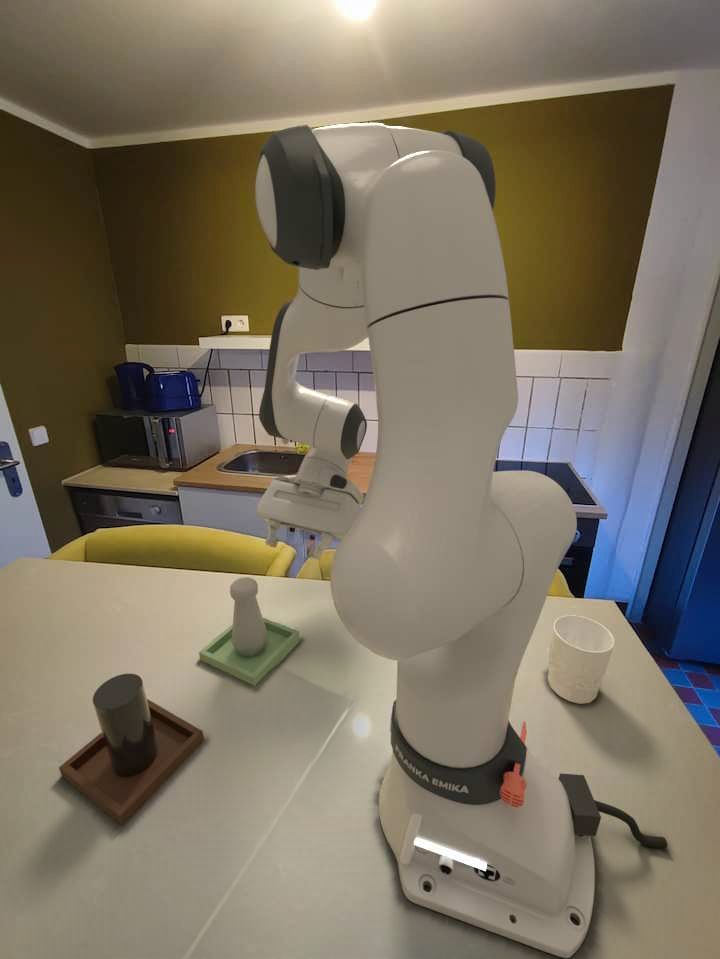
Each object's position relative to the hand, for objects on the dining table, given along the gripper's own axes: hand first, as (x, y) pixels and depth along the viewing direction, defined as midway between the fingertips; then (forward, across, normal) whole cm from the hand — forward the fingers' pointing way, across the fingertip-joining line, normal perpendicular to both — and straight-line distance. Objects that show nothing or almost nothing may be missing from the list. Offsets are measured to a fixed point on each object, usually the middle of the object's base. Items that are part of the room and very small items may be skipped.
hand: (291, 551), depth 75 cm
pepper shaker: (+32, -1, -13) cm, 35 cm away
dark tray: (+33, -1, -13) cm, 35 cm away
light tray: (+18, -1, +2) cm, 18 cm away
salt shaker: (+17, -2, +2) cm, 17 cm away
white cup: (+6, +47, +15) cm, 49 cm away
